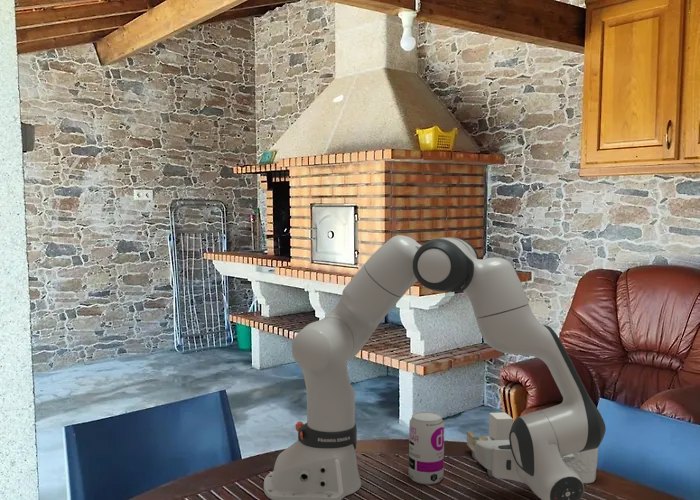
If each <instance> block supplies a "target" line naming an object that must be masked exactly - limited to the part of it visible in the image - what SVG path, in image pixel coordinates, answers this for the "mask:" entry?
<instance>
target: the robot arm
mask: <svg viewBox="0 0 700 500" xmlns="http://www.w3.org/2000/svg"><path fill="white" fill-rule="evenodd" d="M416 282H418V283H419V284H420V285H421V286H423V287H424V288H426V289H428V290H430V291H434V292H443V293H444V292H445V293H446V292H447V293H448V292H449V293H462V292H463V293H465V294H466V296H467V297H468V300H469V301H470V303H471V306H472V309H473V313H474V317H475V320H476V323H477V326H478V329H479V332H480V334H481V337H482V339H483V340H484V342H485V343H486V344H487V345H488V346H489V347H491V348H492V349H493V350H496V351H497V352H501V353H502V354H503V353H505V354H510V355H518V356H527V357H528V356H529V357H533V358H537V359H540V360H541V361H542V362H543V363H544V364H545V365H546V366H547V368H548V370H549V371H550V374H551V376H552V378H553V380H554V382H555V385H556V386H557V388H558V390H559V392H560V394H561V397H562V402H561V403H559V404H556V405H553V406H550V407H546V408H543V409H540V410H535V411H533V412H529V413H526V414H523V415H520V416H517V417H516V418H515V419H514V420H513V424H512V427H511V430H510V434H509V440H495V439H494V438H493V437H486V441H477V442H476V443H475V457H476V459H477V460H478V461H479V462H478V463H480V465H481V466H482V467H484V469H488V470H491V471H492V475H493V476H494V477H493V478H495V479H501V480H508V481H509V480H510V481H514V482H518V483H520V484H521V483H522V484H525V485H526V486H528V487H529V488H530V489H531V491H532V492H533V493H534V494H535V495H536V496H537V497H538V498H539V499H541V500H581V499H582V497H583V495H584V492H585V486H584V483H583V482H582V480H581V479H580V477H579V476H578V475H577V473H576V472H575V471H574V470H573V469H572V468H571V467H570V466H569V465H568V464H567V462H571V460H574V459H575V457H574V455H573V453H576V452H582V451H587V450H592V449H596V448H598V449H599V447H600V445H601V443H602V442H603V439H604V438H605V435H606V431H607V430H606V429H607V428H606V424H605V421H604V418H603V416H602V414H601V413H600V410H599V409H598V408H597V406H596V404H595V403H594V401H593V400H592V398H591V397H590V395H589V393H588V392H587V389H586V387H585V386H584V384H583V382H582V379H581V377H580V375H579V374H578V372H577V370H576V367H575V365H574V363H573V362H572V360H571V358H570V356H569V354H568V352H567V350H566V348H565V346H564V344H563V342H562V341H561V339H560V337H559V336H558V334H557V333H556V332H555V330H554V329H553V328H552V327H550V326H549V325H545V324H542V323H541V322H540V321H539V319H537V317H536V316H535V314H534V313H533V311H532V308H531V307H530V304H529V300H528V297H527V295H526V292H525V289H524V287H523V285H522V281H521V280H520V278H519V276H518V274H517V271H516V269H515V268H514V266H513V264H512V263H511V262H510V261H509V260H507V259H505V258H502V257H487V258H483V259H482V258H481V259H480V257H479V253H478V251H477V249H476V248H475V247H474V245H472V243H470V242H469V241H468V240H465V239H464V238H458V237H450V236H446V237H440V238H434V239H431V240H428V241H426V242H424V243H423V244H420V243H418V242H417V240H415V239H414V238H412V237H410V236H407V235H402V234H398V235H395V236H391V238H390V239H388V240H387V241H385V243H383V245H381V246H380V247H379V248H378V249H377V250H376V251H374V253H373V254H372V255H371V256H370V257H369V258H368V259H367V260H366V262H364V264H363V265H362V267H361V268H360V269H359V270H358V271H357V272H356V274H355V275H354V276H353V277H352V279H350V281H349V282H348V283H347V285H345V287H344V289H343V290H342V295H341V296H340V299H339V300H338V302H337V303H336V305H335V306H334V308H333V310H332V311H331V312H330V313H329V314H328V315H327V316H325V317H324V318H322V319H319V320H316V321H313V322H310V323H307V325H305V326H304V327H303V328H302V329H300V330H299V332H298V333H297V334H296V335H295V336H294V339H293V341H292V344H291V352H292V357H293V359H294V361H295V363H296V364H297V365H298V366H299V368H300V369H301V372H302V376H303V380H304V384H305V391H306V423H303V421H297V422H296V423H295V431H296V432H297V439H298V440H296V441H294V442H293V443H292V444H291V445H290V446H288V447H287V448H285V449H283V451H282V452H280V453H279V454H278V456H277V458H276V460H275V463H274V466H273V471H270V472H269V473H268V474H267V475H266V476H265V477H264V481H263V492H264V494H265V495H266V497H267V498H268V499H270V500H343V499H344V498H345V497H347V496H349V495H352V494H354V493H356V492H357V491H358V490H360V488H361V487H362V482H361V477H360V473H359V470H358V469H359V468H358V462H357V461H358V460H357V452H356V449H357V444H358V428H357V425H356V422H355V421H356V419H355V418H356V416H355V415H356V392H355V389H354V387H353V386H352V384H351V381H350V378H349V373H348V361H349V360H351V359H353V358H354V357H356V356H357V355H358V354H359V353H360V352H361V350H362V349H363V348H364V346H365V345H366V344H367V343H368V341H369V339H370V338H371V337H372V335H373V334H374V332H375V331H376V329H377V328H378V326H379V325H380V324H381V322H382V321H383V320H384V318H385V317H386V316H387V315H388V314H389V313H390V311H392V309H393V308H394V307H395V306H396V304H398V302H399V301H400V300H401V299H402V298H403V297H404V295H405V294H406V293H407V292H408V291H409V289H410V288H411V287H412V286H413V285H414V284H416Z"/></svg>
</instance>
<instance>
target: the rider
mask: <svg viewBox="0 0 700 500" xmlns="http://www.w3.org/2000/svg"><path fill="white" fill-rule="evenodd" d="M488 421H489V423H488V424H489V425H488V426H489V427H488V429H489V430H488V436H489V437H493V438H494V439H495V440H509V434H510V430H511V427H512V424H513V422H514V418H512V416H510V415H509V414H507V412H489V419H488Z"/></svg>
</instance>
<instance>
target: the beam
mask: <svg viewBox="0 0 700 500" xmlns="http://www.w3.org/2000/svg"><path fill="white" fill-rule="evenodd" d="M486 437H489V435H484V436H483V435H482V436H477V435H476V434H475V433H474V432H473V431H470V430H467V431H466V445H467V446H468V448H469V449H470V450H471V457H472V458H473V459H474V460H475V462H476V463H480V462H479V461H478V460H477V459H476V457H475V443H476V442H477V441H486ZM486 471H487V473H486V475H487V476H488V477H489V478H495V477H494V476H493V475H492V471H491V470H488V469H487V470H486Z"/></svg>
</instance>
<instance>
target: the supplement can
mask: <svg viewBox="0 0 700 500" xmlns="http://www.w3.org/2000/svg"><path fill="white" fill-rule="evenodd" d="M408 435H409V436H408V437H409V438H408V441H409V442H408V446H409V447H408V450H409V451H408V477H409V478H410V479H411V480H412V481H413V482H415V483H417V484H421V485H435V484H437V483H439V482H441V480H442V479H443V478H444V471H445V470H444V469H445V466H444V465H445V463H444V460H445V459H444V457H445V422H444V420H443V417H442V415H441V414H439V413H436V412H431V411H418V412H414V413H413V414H412V415H411V418H410V419H409V433H408Z"/></svg>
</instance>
